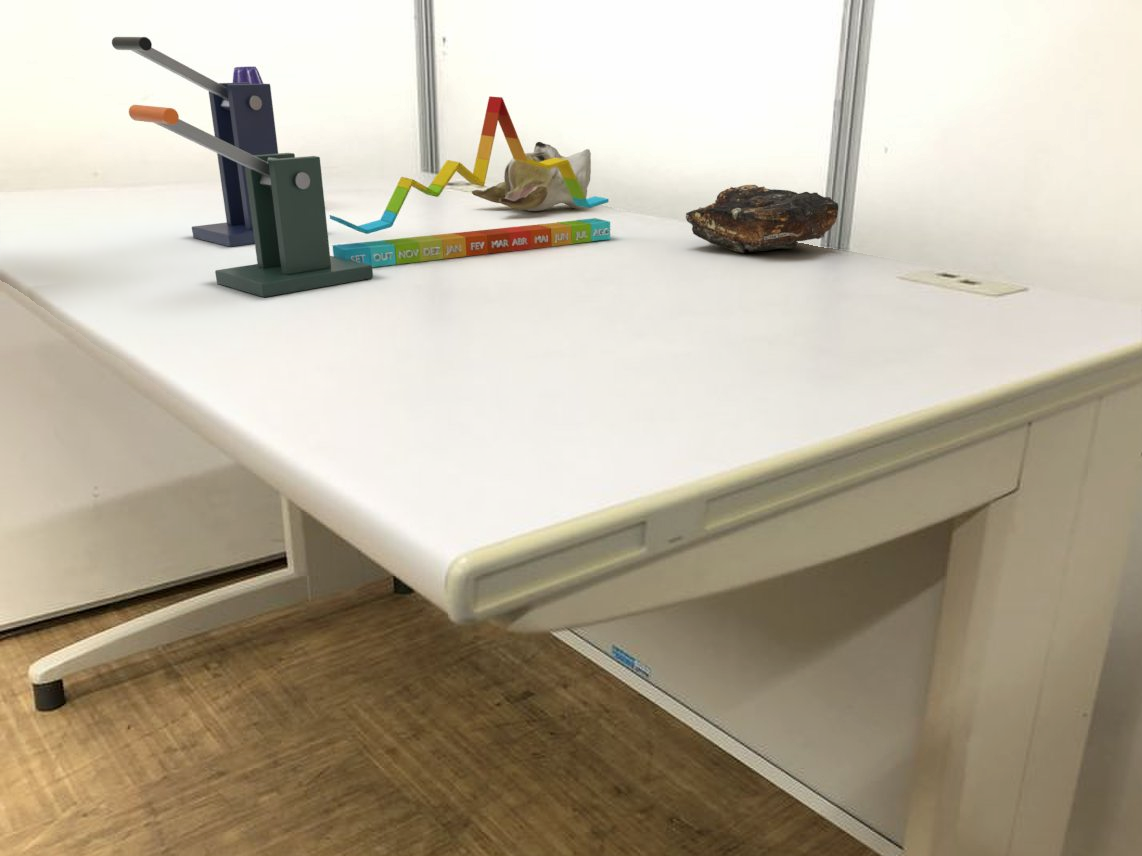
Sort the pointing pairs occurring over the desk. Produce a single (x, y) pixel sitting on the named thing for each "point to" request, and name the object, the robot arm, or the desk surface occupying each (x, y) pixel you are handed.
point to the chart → (481, 239)
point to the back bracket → (250, 133)
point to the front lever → (200, 138)
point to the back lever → (171, 65)
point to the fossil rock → (763, 218)
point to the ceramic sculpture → (538, 181)
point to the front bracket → (290, 233)
